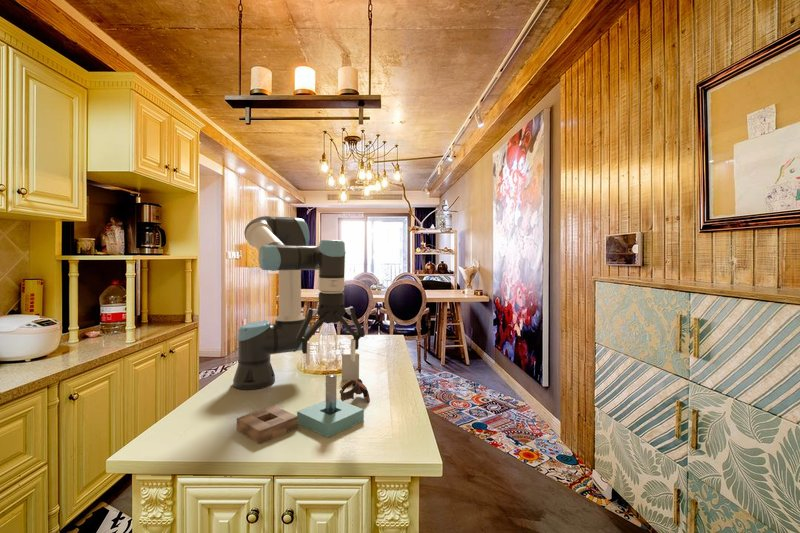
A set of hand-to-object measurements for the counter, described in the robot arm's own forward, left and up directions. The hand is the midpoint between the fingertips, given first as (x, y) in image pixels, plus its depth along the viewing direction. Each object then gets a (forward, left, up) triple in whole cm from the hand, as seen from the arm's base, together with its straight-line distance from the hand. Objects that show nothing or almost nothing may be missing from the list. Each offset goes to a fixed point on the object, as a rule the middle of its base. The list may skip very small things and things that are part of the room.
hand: (330, 362), depth 115 cm
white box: (-24, +31, -18) cm, 43 cm away
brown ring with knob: (-6, +17, -18) cm, 26 cm away
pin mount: (-10, -15, -18) cm, 25 cm away
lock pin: (0, 0, -18) cm, 18 cm away
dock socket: (0, 0, -18) cm, 18 cm away
